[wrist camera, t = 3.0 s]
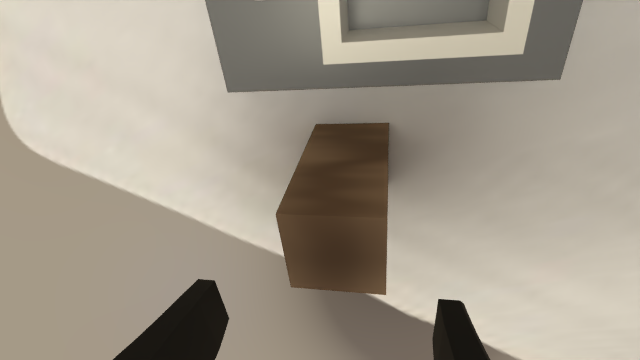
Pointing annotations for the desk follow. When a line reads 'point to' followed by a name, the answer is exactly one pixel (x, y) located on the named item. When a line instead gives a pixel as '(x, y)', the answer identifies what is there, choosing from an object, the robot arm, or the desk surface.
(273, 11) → the socket board
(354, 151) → the walnut peg
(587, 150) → the desk surface
